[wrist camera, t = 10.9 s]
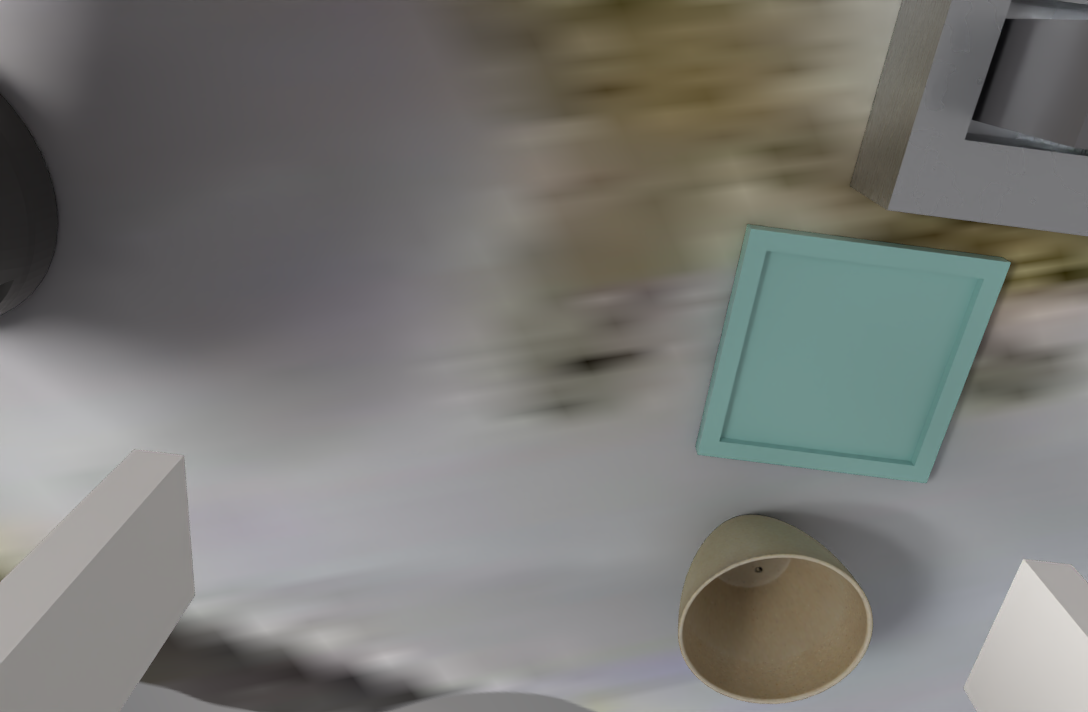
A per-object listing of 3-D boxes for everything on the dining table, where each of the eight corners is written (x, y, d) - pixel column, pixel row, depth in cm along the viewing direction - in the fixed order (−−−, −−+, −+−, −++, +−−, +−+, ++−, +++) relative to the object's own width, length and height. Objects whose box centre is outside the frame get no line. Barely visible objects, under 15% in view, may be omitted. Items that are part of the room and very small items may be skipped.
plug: (945, 112, 36) (1073, 147, 26) (975, 17, 34) (1123, 20, 25) (1031, 123, 36) (1188, 162, 26) (1065, 30, 34) (1246, 37, 25)
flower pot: (862, 506, 46) (910, 590, 39) (785, 629, 49) (817, 724, 43) (704, 456, 44) (726, 532, 38) (639, 585, 48) (649, 675, 42)
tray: (695, 446, 44) (697, 454, 43) (747, 224, 39) (751, 228, 38) (919, 474, 44) (926, 483, 44) (1001, 257, 39) (1011, 262, 38)
